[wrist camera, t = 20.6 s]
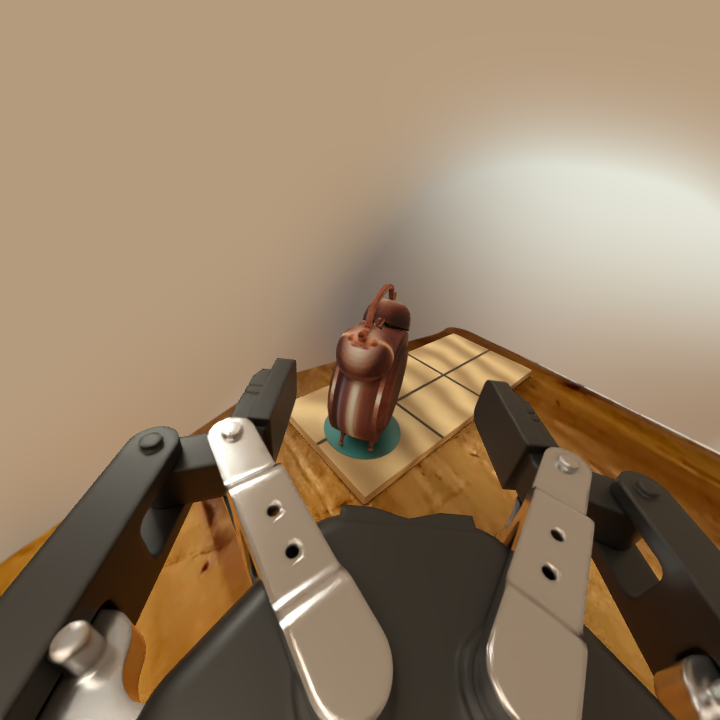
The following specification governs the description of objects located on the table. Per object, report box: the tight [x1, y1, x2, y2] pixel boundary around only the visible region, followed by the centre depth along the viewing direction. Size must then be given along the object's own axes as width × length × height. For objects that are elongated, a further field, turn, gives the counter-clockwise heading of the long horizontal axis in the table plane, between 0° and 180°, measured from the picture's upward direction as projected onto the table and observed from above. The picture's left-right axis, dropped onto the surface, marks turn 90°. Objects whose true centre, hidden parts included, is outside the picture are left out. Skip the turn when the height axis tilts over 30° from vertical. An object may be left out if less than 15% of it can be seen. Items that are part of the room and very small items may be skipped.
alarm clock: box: [327, 284, 411, 452], centre depth 27 cm, size 11×5×15 cm, turn 160°
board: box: [289, 333, 532, 505], centre depth 39 cm, size 34×14×1 cm, turn 131°
